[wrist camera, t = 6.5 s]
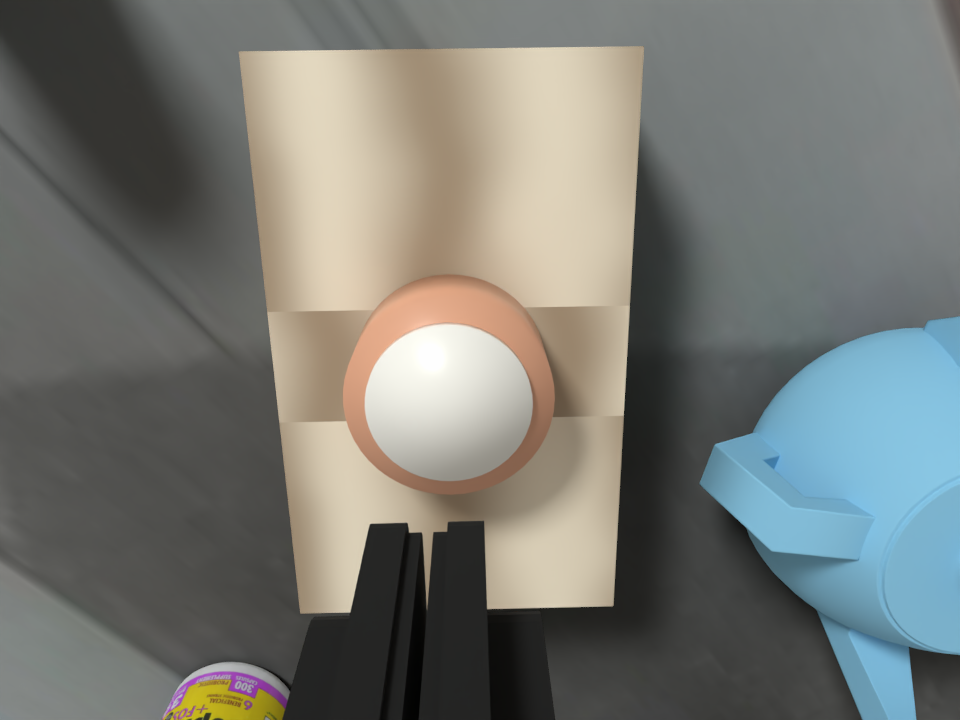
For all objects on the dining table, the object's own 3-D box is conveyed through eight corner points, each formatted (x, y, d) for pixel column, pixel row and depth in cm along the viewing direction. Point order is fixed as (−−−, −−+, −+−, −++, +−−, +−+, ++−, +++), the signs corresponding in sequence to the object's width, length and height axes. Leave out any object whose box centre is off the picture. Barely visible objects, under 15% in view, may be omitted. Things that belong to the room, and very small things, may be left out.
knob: (529, 231, 32) (558, 300, 22) (527, 376, 34) (554, 499, 24) (373, 234, 32) (332, 304, 22) (382, 379, 34) (348, 503, 24)
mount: (599, 54, 31) (644, 46, 23) (583, 500, 38) (613, 606, 30) (294, 57, 31) (238, 51, 23) (333, 505, 37) (300, 613, 30)
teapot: (963, 228, 34) (1178, 294, 23) (1086, 481, 38) (1313, 629, 28) (657, 418, 36) (731, 549, 26) (805, 633, 41) (917, 818, 30)
